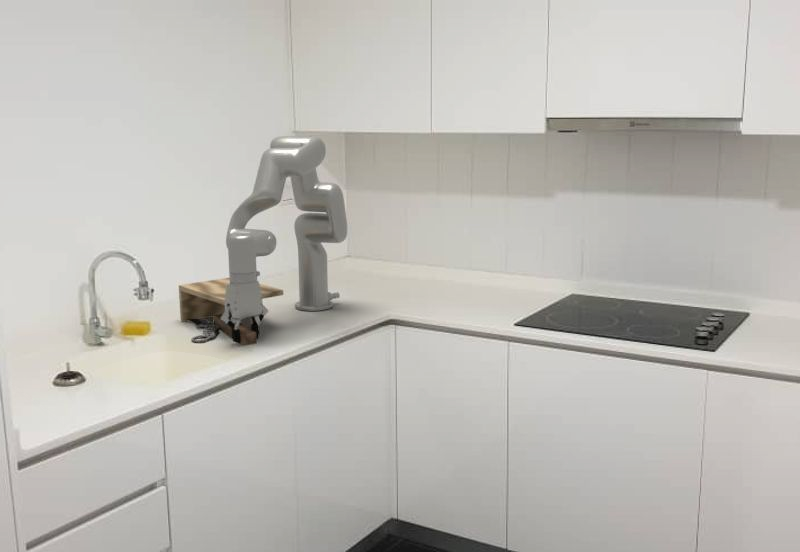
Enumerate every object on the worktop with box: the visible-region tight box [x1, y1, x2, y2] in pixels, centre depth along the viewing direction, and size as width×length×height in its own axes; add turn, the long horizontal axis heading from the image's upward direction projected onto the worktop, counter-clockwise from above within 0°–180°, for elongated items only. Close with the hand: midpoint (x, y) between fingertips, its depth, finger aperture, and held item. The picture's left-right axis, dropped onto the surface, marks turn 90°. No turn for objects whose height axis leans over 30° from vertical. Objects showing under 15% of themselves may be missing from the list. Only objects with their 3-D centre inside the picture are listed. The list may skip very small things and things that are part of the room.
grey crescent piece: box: [186, 318, 221, 344], centre depth 249 cm, size 28×2×10 cm
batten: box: [212, 314, 258, 347], centre depth 244 cm, size 3×26×5 cm
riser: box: [178, 277, 284, 323], centre depth 255 cm, size 20×28×12 cm
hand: (245, 339), depth 235 cm, fingers closed on batten, 5 cm apart
